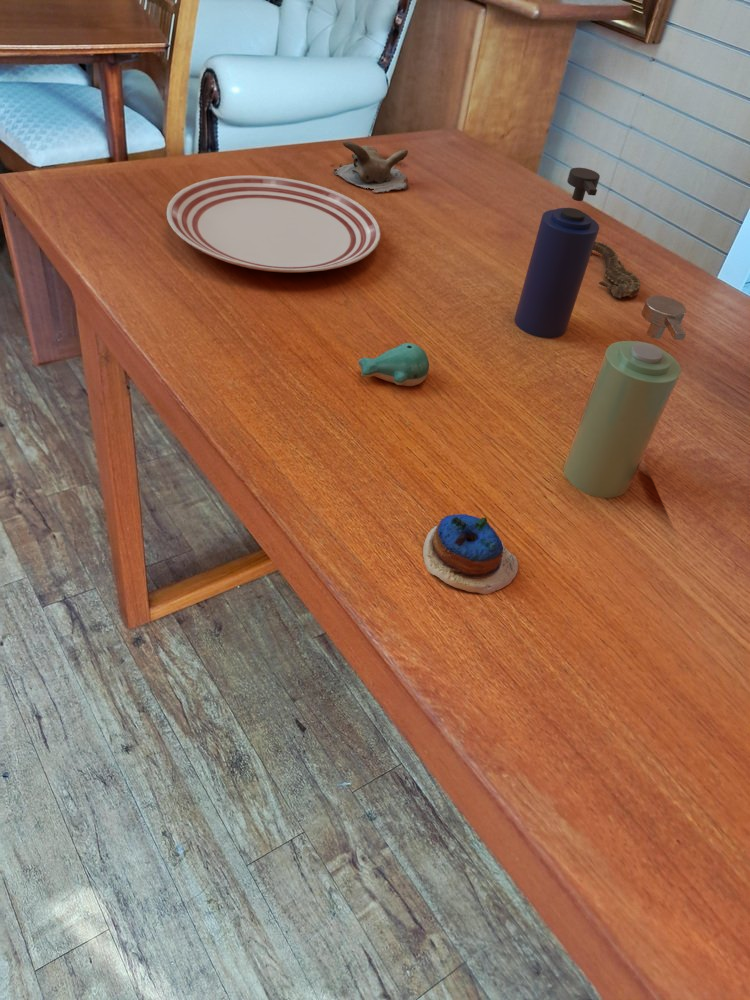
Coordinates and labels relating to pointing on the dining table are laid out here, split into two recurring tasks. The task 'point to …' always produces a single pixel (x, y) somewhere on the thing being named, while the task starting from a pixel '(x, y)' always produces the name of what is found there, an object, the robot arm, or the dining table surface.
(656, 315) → the grey round-capped part
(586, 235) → the bottle navy
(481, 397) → the dining table surface
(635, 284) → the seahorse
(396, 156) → the skull
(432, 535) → the dessert
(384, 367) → the whale figurine
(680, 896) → the dining table surface
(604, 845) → the dining table surface
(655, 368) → the bottle green
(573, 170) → the black dispenser pump head
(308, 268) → the dinner plate
